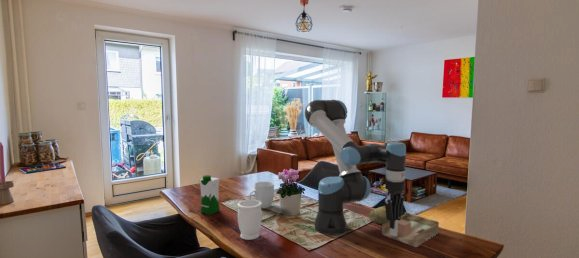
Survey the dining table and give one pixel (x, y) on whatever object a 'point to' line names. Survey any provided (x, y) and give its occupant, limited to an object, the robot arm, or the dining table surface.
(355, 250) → the dining table surface
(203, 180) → the milk carton
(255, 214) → the jar
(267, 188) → the mug
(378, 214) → the pastry
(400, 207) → the robot arm
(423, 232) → the tray
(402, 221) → the terracotta block
